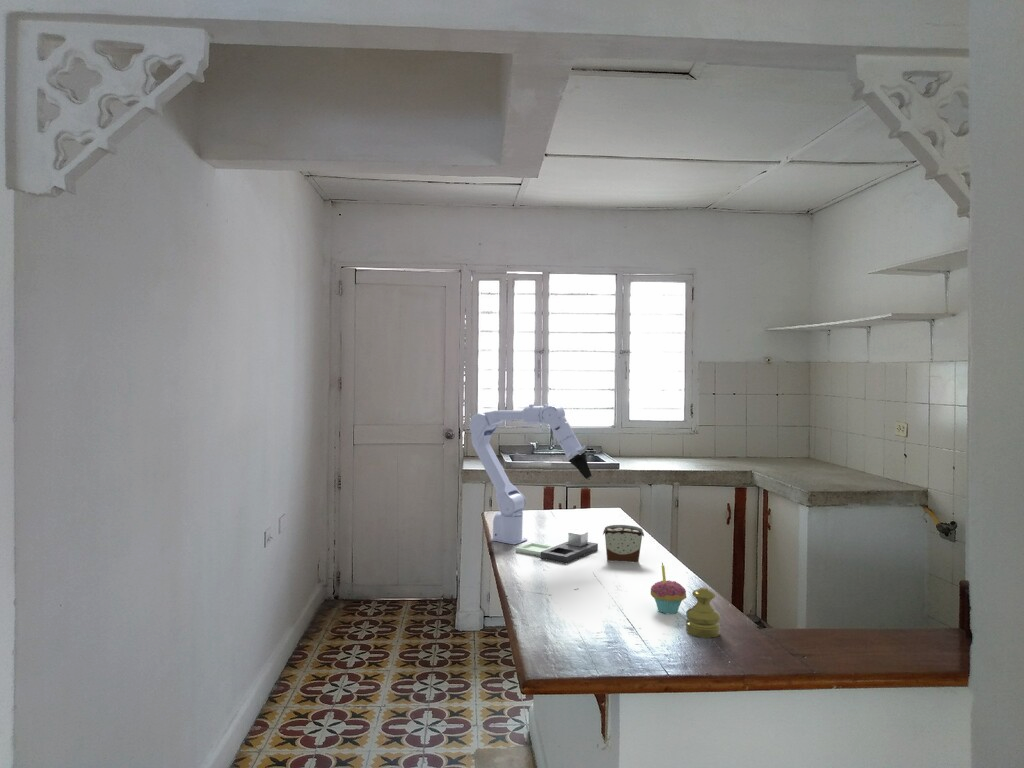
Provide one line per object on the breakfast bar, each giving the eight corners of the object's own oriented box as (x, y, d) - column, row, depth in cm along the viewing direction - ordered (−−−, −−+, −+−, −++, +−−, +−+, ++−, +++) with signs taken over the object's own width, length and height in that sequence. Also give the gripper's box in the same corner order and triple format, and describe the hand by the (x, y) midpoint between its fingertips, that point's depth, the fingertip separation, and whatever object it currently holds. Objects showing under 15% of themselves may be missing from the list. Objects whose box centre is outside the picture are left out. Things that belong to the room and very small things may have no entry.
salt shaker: (714, 641, 159) (715, 596, 158) (681, 634, 162) (682, 589, 162) (724, 631, 165) (725, 587, 164) (691, 624, 169) (693, 581, 168)
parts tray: (516, 551, 229) (516, 547, 229) (531, 546, 236) (531, 541, 236) (540, 556, 224) (540, 552, 224) (555, 550, 231) (555, 546, 231)
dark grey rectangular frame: (540, 558, 222) (540, 551, 222) (573, 545, 238) (573, 539, 238) (566, 563, 217) (566, 556, 217) (597, 549, 233) (597, 543, 233)
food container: (641, 557, 225) (642, 525, 225) (643, 563, 219) (644, 529, 219) (601, 555, 227) (602, 523, 226) (602, 561, 221) (602, 528, 220)
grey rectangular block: (568, 551, 231) (568, 532, 231) (575, 548, 235) (575, 529, 235) (580, 553, 229) (581, 534, 228) (587, 550, 232) (587, 532, 232)
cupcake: (664, 618, 172) (666, 568, 172) (642, 607, 180) (643, 559, 179) (693, 613, 176) (694, 564, 176) (670, 602, 184) (671, 555, 183)
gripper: (577, 430, 226) (599, 469, 223) (579, 435, 240) (599, 471, 237) (557, 442, 226) (578, 480, 223) (560, 445, 240) (580, 482, 237)
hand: (588, 476), depth 230 cm, fingers open, 7 cm apart
